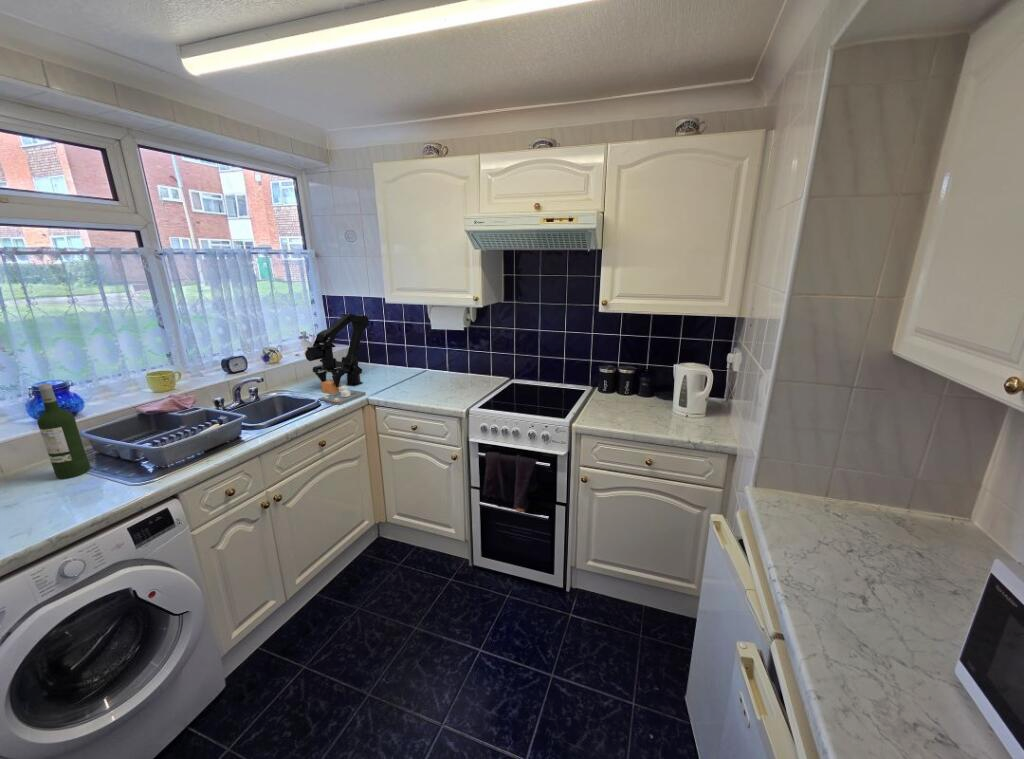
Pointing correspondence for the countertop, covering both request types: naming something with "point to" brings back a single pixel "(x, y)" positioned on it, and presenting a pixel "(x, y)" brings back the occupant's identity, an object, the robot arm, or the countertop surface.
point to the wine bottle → (61, 437)
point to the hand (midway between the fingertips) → (331, 386)
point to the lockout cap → (329, 387)
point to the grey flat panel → (339, 400)
